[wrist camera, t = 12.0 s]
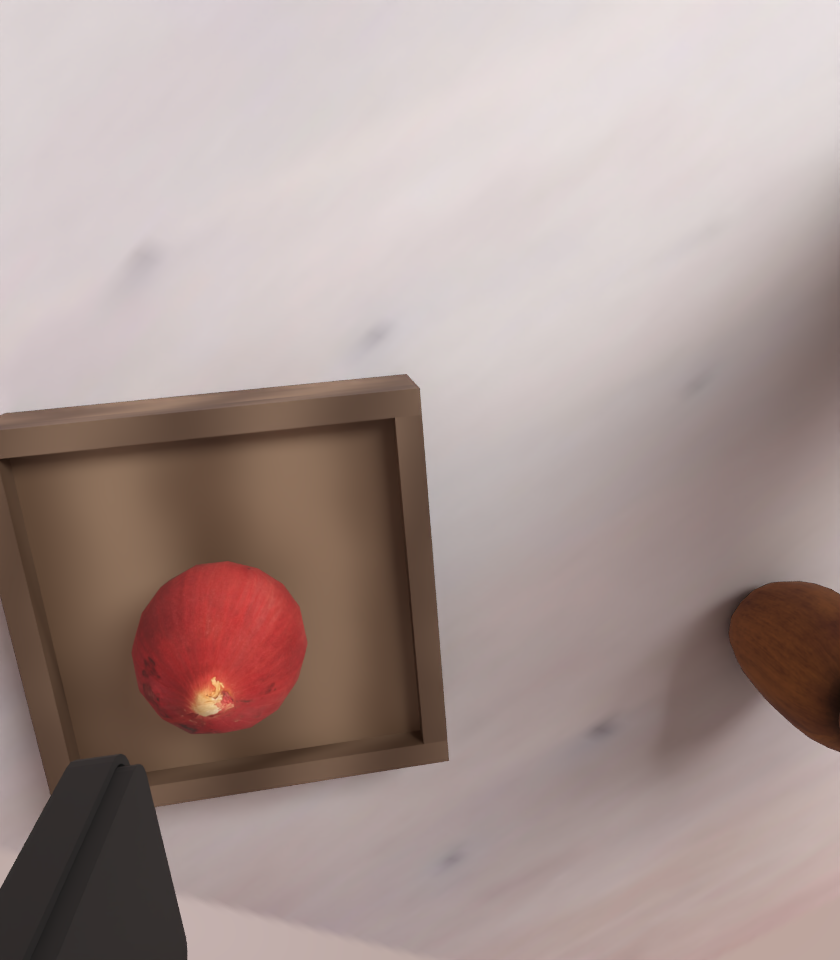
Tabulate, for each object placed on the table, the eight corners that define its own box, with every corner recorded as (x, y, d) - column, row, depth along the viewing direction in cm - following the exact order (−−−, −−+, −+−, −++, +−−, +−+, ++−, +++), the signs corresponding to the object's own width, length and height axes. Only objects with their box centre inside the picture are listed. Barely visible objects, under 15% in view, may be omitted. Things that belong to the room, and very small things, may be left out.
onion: (251, 691, 31) (231, 829, 23) (127, 621, 29) (62, 743, 22) (334, 583, 30) (342, 687, 23) (210, 504, 29) (174, 588, 21)
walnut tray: (406, 374, 31) (419, 388, 28) (434, 708, 36) (448, 760, 32) (4, 413, 30) (-41, 434, 26) (85, 760, 34) (57, 822, 30)
